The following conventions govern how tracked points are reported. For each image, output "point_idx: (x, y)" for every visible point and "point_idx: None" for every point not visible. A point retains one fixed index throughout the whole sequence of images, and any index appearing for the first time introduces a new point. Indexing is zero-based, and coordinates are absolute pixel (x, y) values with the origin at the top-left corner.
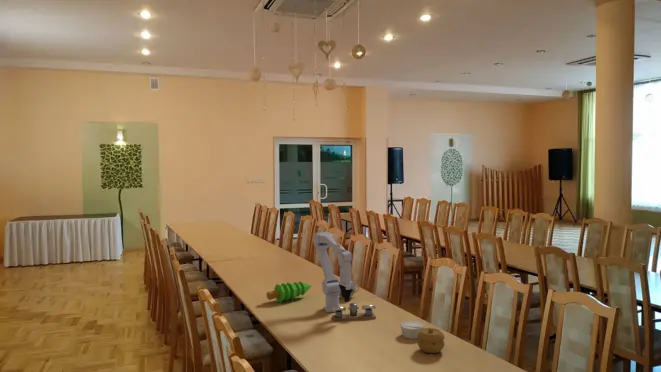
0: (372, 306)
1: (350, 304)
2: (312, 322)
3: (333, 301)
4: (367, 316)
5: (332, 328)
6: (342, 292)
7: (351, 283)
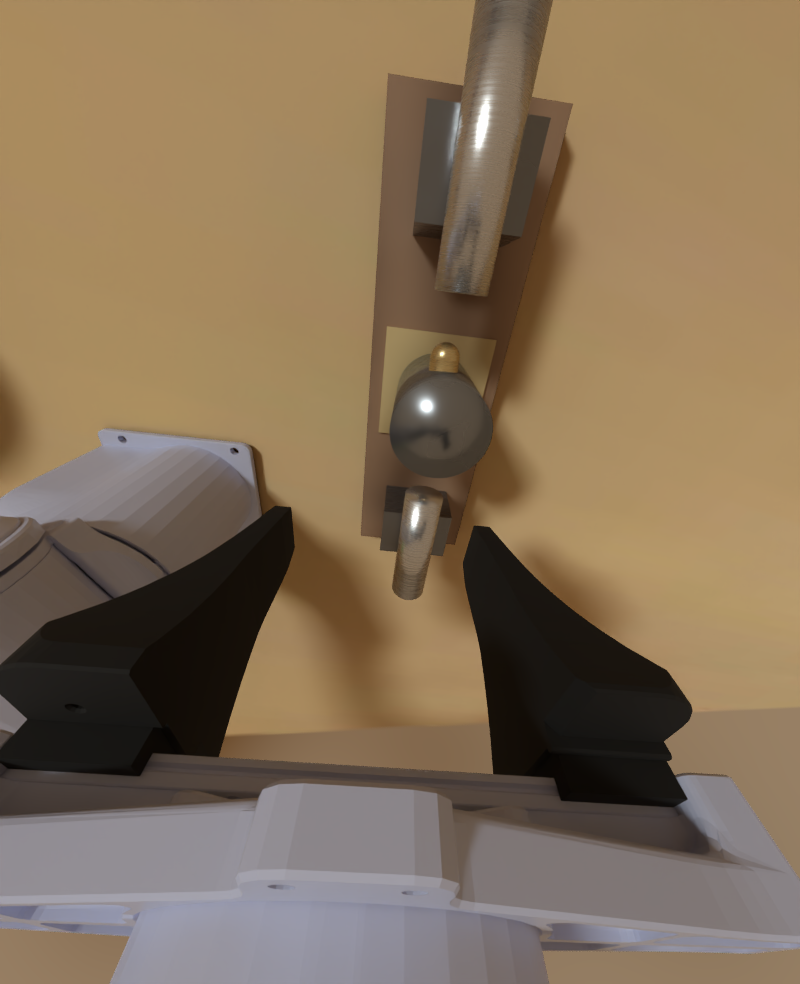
0: (538, 61)
1: (449, 472)
2: (422, 623)
3: (211, 548)
4: (518, 244)
5: (564, 569)
6: (263, 603)
7: (448, 841)
